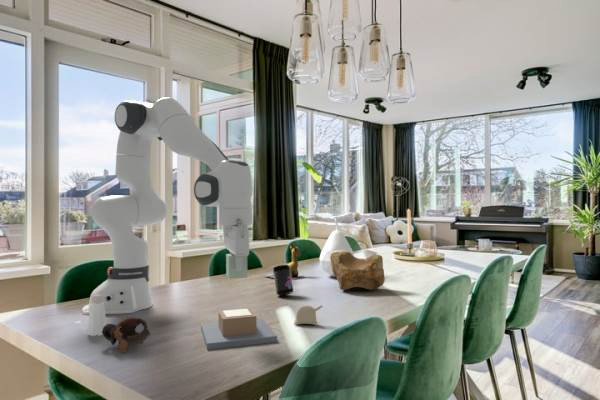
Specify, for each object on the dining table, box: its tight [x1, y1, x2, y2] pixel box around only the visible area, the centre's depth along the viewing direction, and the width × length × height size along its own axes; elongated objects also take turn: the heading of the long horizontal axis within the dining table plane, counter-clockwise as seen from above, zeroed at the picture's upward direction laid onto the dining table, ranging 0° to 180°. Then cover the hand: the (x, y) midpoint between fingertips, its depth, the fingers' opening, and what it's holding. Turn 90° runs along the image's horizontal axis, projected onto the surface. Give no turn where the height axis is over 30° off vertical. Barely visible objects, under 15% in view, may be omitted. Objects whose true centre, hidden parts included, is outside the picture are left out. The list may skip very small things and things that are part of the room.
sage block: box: [225, 253, 248, 280], centre depth 119 cm, size 5×5×6 cm
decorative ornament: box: [293, 304, 323, 326], centre depth 129 cm, size 4×8×5 cm, turn 87°
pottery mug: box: [102, 316, 151, 354], centre depth 109 cm, size 12×9×8 cm
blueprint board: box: [200, 307, 278, 350], centre depth 119 cm, size 18×18×6 cm
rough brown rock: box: [330, 251, 385, 291], centre depth 177 cm, size 23×17×15 cm
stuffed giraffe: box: [266, 244, 305, 281], centre depth 207 cm, size 16×18×16 cm
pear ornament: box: [318, 218, 355, 278], centre depth 209 cm, size 16×22×28 cm
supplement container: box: [272, 264, 294, 297], centre depth 167 cm, size 7×7×10 cm
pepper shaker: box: [86, 294, 107, 337], centre depth 121 cm, size 5×5×11 cm
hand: (236, 268), depth 119 cm, fingers closed on sage block, 5 cm apart
